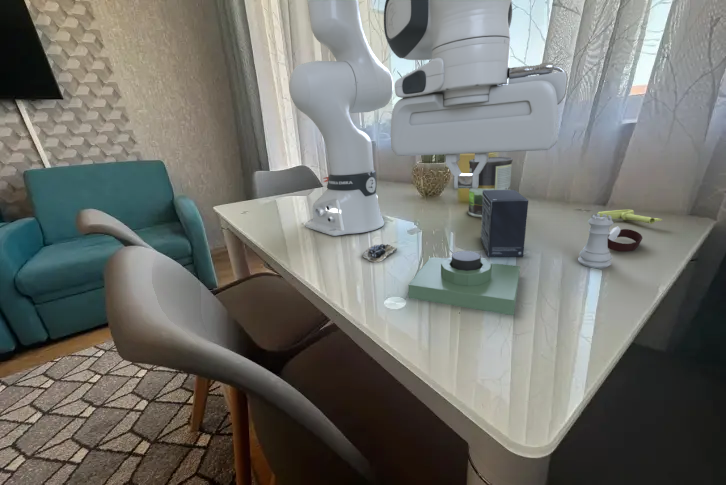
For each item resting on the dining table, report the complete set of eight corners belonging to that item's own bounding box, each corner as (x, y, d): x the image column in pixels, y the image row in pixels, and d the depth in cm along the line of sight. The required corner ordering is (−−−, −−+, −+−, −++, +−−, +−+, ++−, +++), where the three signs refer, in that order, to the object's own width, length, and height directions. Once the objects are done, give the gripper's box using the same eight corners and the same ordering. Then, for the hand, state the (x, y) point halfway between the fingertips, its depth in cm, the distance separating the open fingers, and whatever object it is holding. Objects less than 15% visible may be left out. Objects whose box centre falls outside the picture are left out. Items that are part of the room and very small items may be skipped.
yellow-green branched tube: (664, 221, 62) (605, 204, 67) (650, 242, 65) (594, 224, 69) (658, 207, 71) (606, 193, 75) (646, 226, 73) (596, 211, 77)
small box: (526, 257, 57) (531, 199, 53) (487, 257, 58) (489, 201, 55) (512, 238, 67) (516, 187, 63) (479, 238, 68) (481, 189, 65)
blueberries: (399, 247, 67) (398, 239, 67) (393, 263, 60) (392, 253, 59) (368, 247, 69) (367, 239, 68) (358, 262, 62) (357, 253, 61)
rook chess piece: (571, 262, 53) (577, 215, 51) (589, 256, 55) (596, 211, 52) (599, 271, 50) (607, 221, 47) (617, 265, 51) (626, 216, 48)
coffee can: (472, 219, 82) (473, 163, 77) (464, 209, 92) (465, 159, 87) (515, 216, 81) (518, 159, 76) (502, 207, 90) (505, 155, 86)
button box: (408, 298, 47) (407, 273, 46) (430, 268, 56) (430, 247, 55) (513, 315, 41) (515, 287, 39) (519, 279, 50) (521, 255, 48)
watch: (618, 239, 61) (621, 220, 60) (648, 245, 57) (652, 226, 56) (594, 248, 58) (597, 229, 57) (625, 256, 54) (629, 235, 53)
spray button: (448, 270, 46) (448, 259, 46) (455, 260, 50) (455, 249, 49) (477, 273, 45) (478, 262, 44) (482, 262, 48) (482, 252, 47)
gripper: (568, 62, 37) (554, 183, 41) (400, 87, 46) (404, 183, 51) (572, 54, 32) (555, 193, 36) (382, 84, 41) (388, 191, 46)
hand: (466, 187), depth 44 cm, fingers closed
